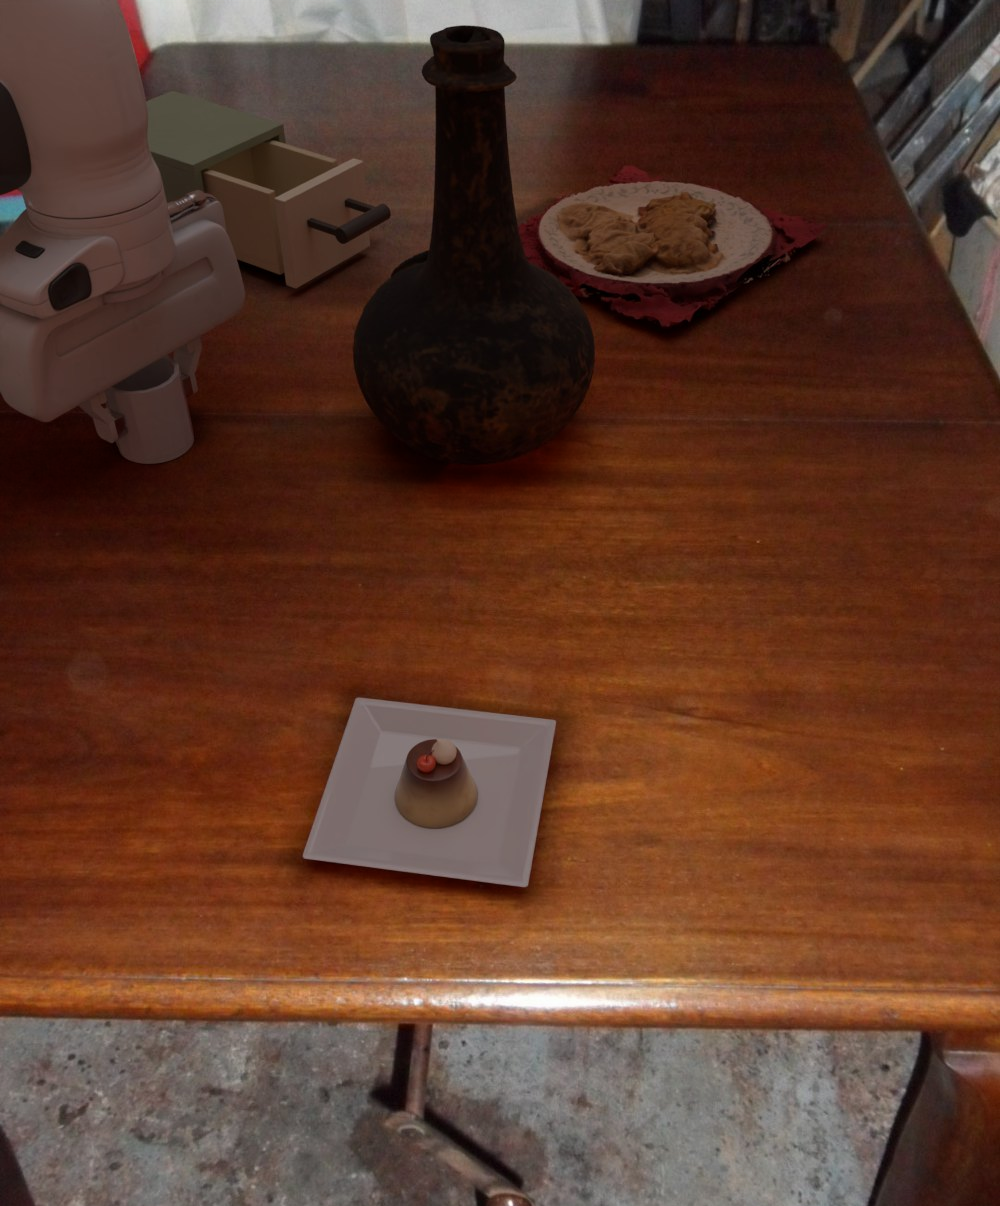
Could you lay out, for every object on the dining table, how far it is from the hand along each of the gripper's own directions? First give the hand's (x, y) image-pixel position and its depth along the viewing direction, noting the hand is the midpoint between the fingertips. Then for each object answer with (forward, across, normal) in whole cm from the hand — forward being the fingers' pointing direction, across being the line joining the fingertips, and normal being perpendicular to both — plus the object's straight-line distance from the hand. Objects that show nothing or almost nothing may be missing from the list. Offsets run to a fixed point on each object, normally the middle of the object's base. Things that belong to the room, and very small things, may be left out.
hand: (149, 415), depth 89 cm
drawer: (+1, -28, -11) cm, 31 cm away
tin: (+2, 0, 0) cm, 2 cm away
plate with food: (+3, -50, +14) cm, 52 cm away
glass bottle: (+3, -16, +19) cm, 25 cm away
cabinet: (+2, -28, -24) cm, 37 cm away
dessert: (+3, +16, +39) cm, 42 cm away
